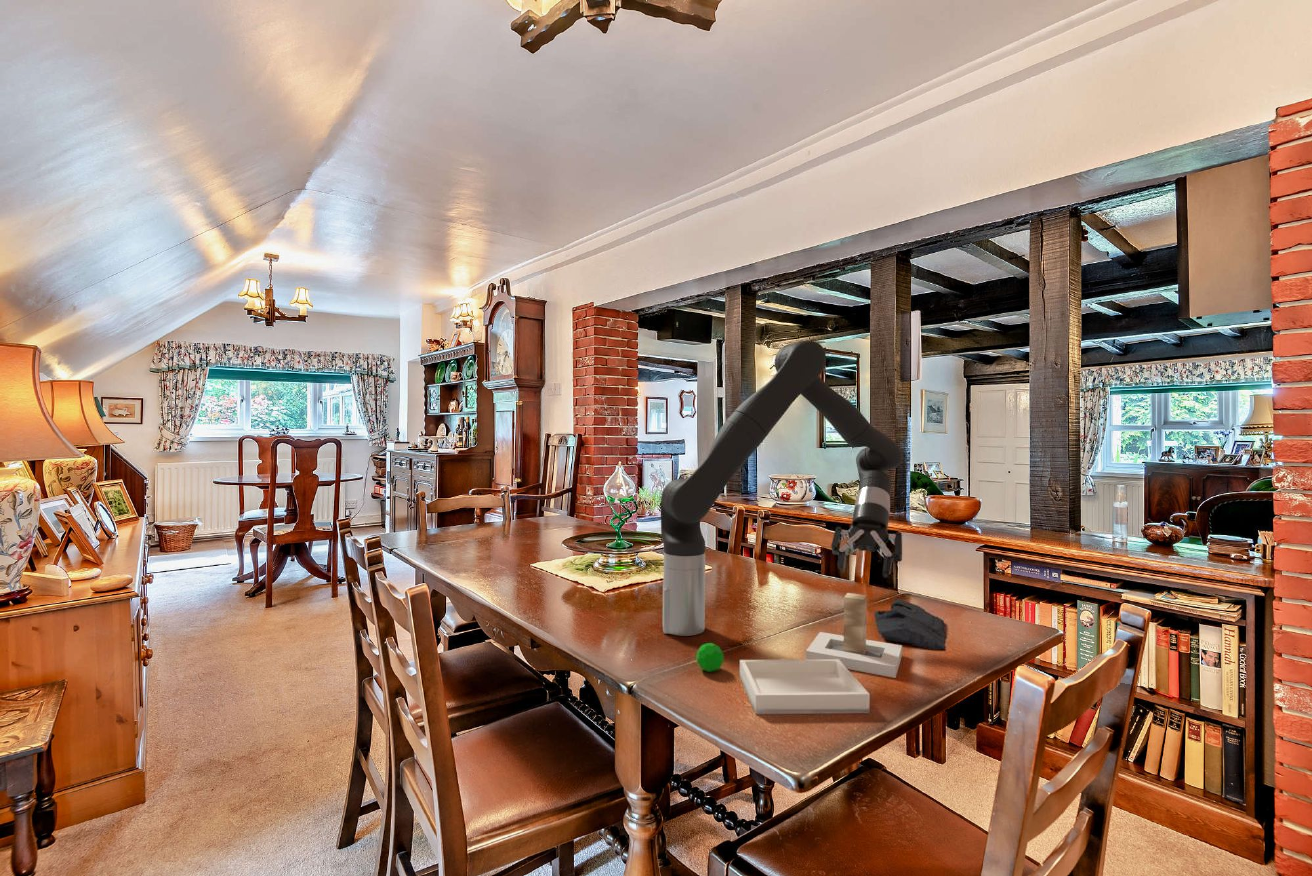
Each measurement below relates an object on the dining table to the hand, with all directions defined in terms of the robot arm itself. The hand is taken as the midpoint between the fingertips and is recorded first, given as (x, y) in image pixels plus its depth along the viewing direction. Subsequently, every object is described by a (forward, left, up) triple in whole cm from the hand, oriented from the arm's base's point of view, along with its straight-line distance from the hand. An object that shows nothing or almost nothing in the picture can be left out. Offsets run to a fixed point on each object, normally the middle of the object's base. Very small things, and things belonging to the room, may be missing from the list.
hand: (863, 572), depth 123 cm
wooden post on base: (-5, -9, -15) cm, 18 cm away
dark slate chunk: (+13, +7, -15) cm, 22 cm away
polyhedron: (-34, -14, -15) cm, 39 cm away
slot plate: (-5, -9, -15) cm, 18 cm away
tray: (-20, -24, -15) cm, 34 cm away
